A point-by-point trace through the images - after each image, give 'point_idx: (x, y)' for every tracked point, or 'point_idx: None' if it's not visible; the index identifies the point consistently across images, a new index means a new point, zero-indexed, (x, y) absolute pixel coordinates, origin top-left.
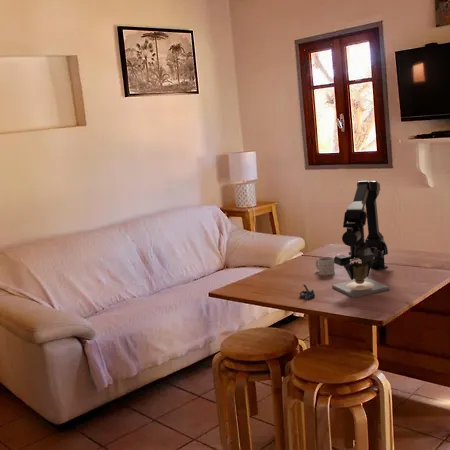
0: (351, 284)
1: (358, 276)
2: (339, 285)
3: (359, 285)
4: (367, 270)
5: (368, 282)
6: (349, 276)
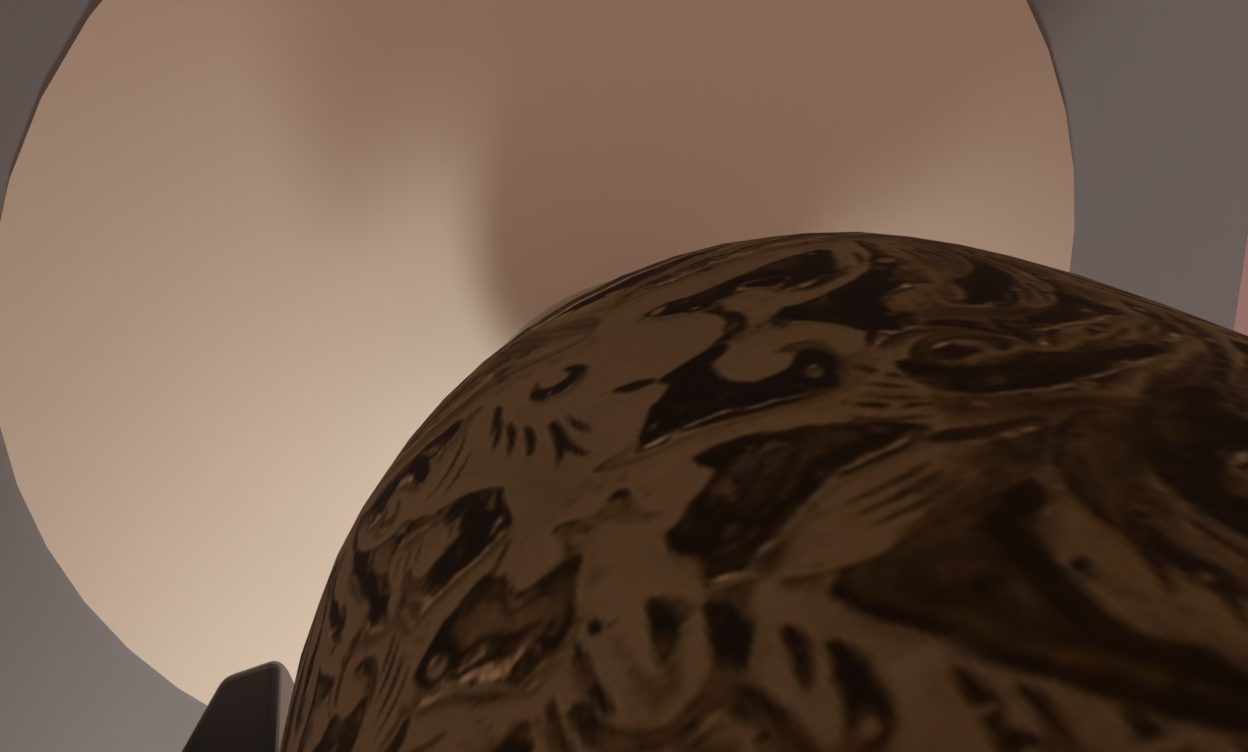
0: None
1: (1074, 274)
2: None
3: None
4: (413, 708)
5: (178, 620)
6: None
